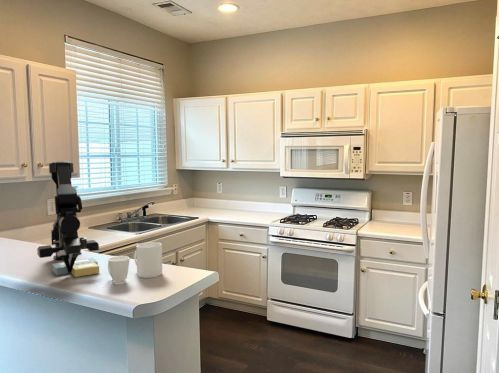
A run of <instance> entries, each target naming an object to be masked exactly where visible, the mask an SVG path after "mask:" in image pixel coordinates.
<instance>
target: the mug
mask: <svg viewBox="0 0 499 373" xmlns="http://www.w3.org/2000/svg"><path fill="white" fill-rule="evenodd" d="M135 248H136V249H135V251H134V255H133V256H134V263H135V265H136V274H137V276H138V277H139V278H143V279H152V278H156V277H157V278H158V277H159V276H161V275H162V274H163V245H162V243H161V242H158V241H157V242H156V241H148V242H142V243H138V244H136V247H135Z"/></svg>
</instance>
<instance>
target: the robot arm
mask: <svg viewBox="0 0 499 373" xmlns="http://www.w3.org/2000/svg"><path fill="white" fill-rule="evenodd" d="M48 173H49V174H50V177H51V180H52V181H53V182H54V183H55V195H54V196H53V197H54V208H55V214H56V219H55V221H54V222H53V223H52V229H51V230H50V240H51V241H50V242H51V244H48V245H41V246H38V247H37V248H36V250H37V256H38V257H39V258H50V257H52V256H53V258H54V259H55V260H56V261H59V260H60V261H61V260H62V262H64V264H65V266H66V268H67V271H68V274H72V273H71V272H72V269H73V266H74V263H75V260H77V258H78V257H79V256H82V250H86V249H87V250H88V251H89V252H94V251H99V250H100V246H99V242H97V241H96V240H94V239H91V240H87V237H86V236H83V237H79V233H78V230H79V229H80V227H81V222H80V219H79V218H78V216H77V213H81V212H82V211H83V204H82V198H81V197H80V194H78V192H77V191H78V190H77V189H76V187H74V186H73V184H72V174H74V163H72V162H70V161H68V160H66V161H65V160H62V161H60V160H58V161H52V162H50V163H49V164H48ZM53 245H54V247H53ZM54 254H55V255H54Z"/></svg>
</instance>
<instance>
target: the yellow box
mask: <svg viewBox="0 0 499 373" xmlns="http://www.w3.org/2000/svg"><path fill="white" fill-rule="evenodd" d="M70 274H72V276H74V278H78V277H79V278H80V277H83V276H90V275H95V274H100V265H99V264H98V265H97V264H96V263H95V262H94V263H88V264H81V265H75V266H73V269H72V272H71V273H70Z"/></svg>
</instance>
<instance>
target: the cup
mask: <svg viewBox="0 0 499 373" xmlns="http://www.w3.org/2000/svg"><path fill="white" fill-rule="evenodd" d="M130 258H131V257H129V255H128V256H127V255H117V256H111V257H109V258H107V260H108V262H107V270H108V271H107V272H108V273H109V276H110V278H111V279H112V284H113V285H123V284H125V283H127V278H128V273H129V266H130Z"/></svg>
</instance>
